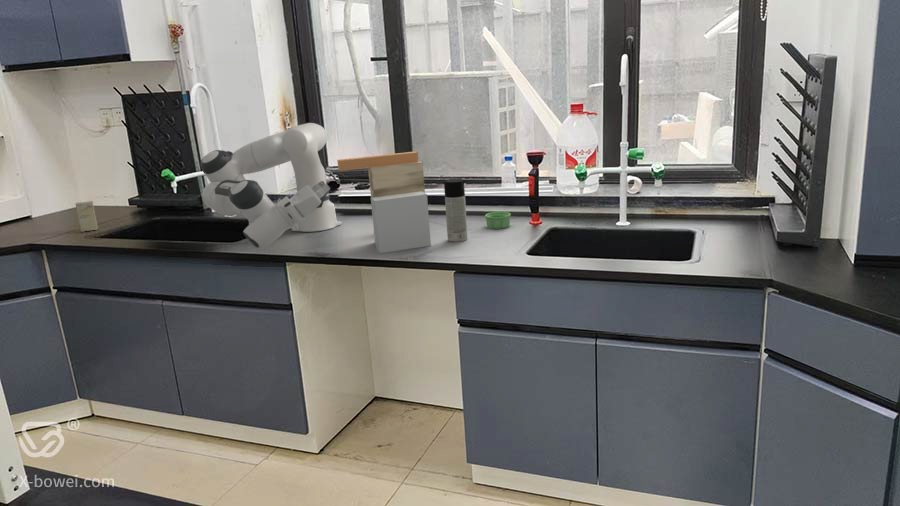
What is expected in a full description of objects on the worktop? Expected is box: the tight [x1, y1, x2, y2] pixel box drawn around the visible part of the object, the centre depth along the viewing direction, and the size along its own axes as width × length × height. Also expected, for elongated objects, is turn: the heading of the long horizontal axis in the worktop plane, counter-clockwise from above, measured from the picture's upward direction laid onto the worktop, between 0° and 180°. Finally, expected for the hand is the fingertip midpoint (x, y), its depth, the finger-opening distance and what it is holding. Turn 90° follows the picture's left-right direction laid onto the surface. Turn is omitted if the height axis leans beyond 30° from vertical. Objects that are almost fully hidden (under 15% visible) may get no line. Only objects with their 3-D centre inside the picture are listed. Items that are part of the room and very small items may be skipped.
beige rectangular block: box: [367, 160, 426, 199], centre depth 218 cm, size 6×17×26 cm, turn 109°
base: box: [370, 191, 432, 254], centre depth 210 cm, size 6×17×17 cm, turn 109°
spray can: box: [443, 178, 468, 243], centre depth 214 cm, size 7×7×20 cm
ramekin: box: [485, 211, 511, 230], centre depth 231 cm, size 9×9×4 cm
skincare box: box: [75, 200, 99, 232], centre depth 271 cm, size 6×4×12 cm
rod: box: [336, 151, 419, 172], centre depth 212 cm, size 3×26×3 cm, turn 109°
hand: (326, 184), depth 208 cm, fingers open, 8 cm apart
